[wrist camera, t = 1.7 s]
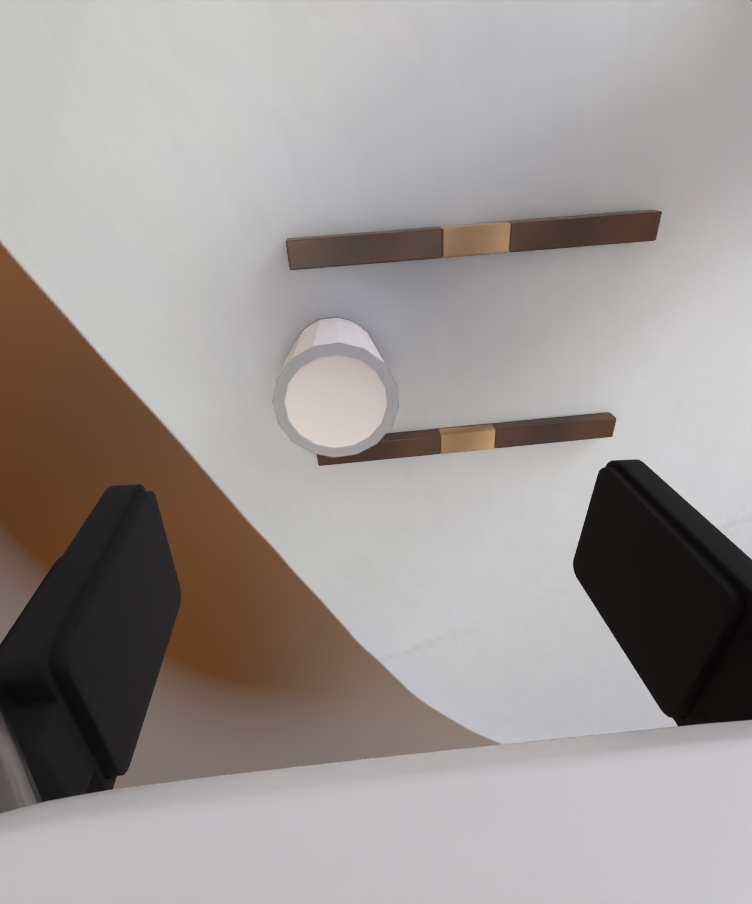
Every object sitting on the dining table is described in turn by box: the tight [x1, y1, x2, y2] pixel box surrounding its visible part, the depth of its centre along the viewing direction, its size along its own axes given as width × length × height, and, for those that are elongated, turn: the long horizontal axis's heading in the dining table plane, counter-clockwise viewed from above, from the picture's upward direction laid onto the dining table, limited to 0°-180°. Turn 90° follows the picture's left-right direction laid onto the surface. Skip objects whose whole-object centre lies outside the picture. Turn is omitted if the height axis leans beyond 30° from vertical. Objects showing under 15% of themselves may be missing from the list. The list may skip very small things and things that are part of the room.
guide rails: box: [286, 210, 662, 466], centre depth 32 cm, size 22×15×1 cm
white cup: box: [273, 317, 399, 457], centre depth 29 cm, size 7×7×7 cm
